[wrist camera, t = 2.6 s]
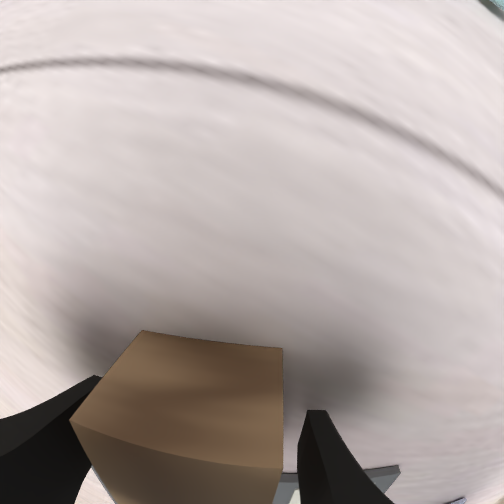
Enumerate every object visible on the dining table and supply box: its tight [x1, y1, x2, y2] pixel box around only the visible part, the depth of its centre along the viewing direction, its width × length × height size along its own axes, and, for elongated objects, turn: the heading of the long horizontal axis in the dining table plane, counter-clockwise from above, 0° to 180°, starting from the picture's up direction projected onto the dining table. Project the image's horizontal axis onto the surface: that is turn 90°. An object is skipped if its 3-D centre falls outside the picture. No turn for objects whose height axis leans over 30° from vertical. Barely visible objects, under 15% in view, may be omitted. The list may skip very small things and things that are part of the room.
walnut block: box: [69, 330, 283, 504], centre depth 8 cm, size 5×5×5 cm
